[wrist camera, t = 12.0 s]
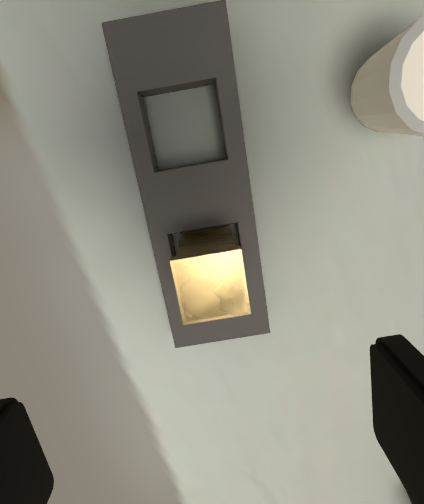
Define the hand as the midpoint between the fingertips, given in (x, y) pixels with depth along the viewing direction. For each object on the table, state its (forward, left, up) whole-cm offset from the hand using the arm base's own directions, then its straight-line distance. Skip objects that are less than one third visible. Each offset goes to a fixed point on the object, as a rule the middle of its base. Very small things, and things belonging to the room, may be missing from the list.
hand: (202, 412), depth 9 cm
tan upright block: (0, +2, -20) cm, 20 cm away
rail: (0, -3, -20) cm, 21 cm away
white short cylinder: (-15, -8, -21) cm, 27 cm away
